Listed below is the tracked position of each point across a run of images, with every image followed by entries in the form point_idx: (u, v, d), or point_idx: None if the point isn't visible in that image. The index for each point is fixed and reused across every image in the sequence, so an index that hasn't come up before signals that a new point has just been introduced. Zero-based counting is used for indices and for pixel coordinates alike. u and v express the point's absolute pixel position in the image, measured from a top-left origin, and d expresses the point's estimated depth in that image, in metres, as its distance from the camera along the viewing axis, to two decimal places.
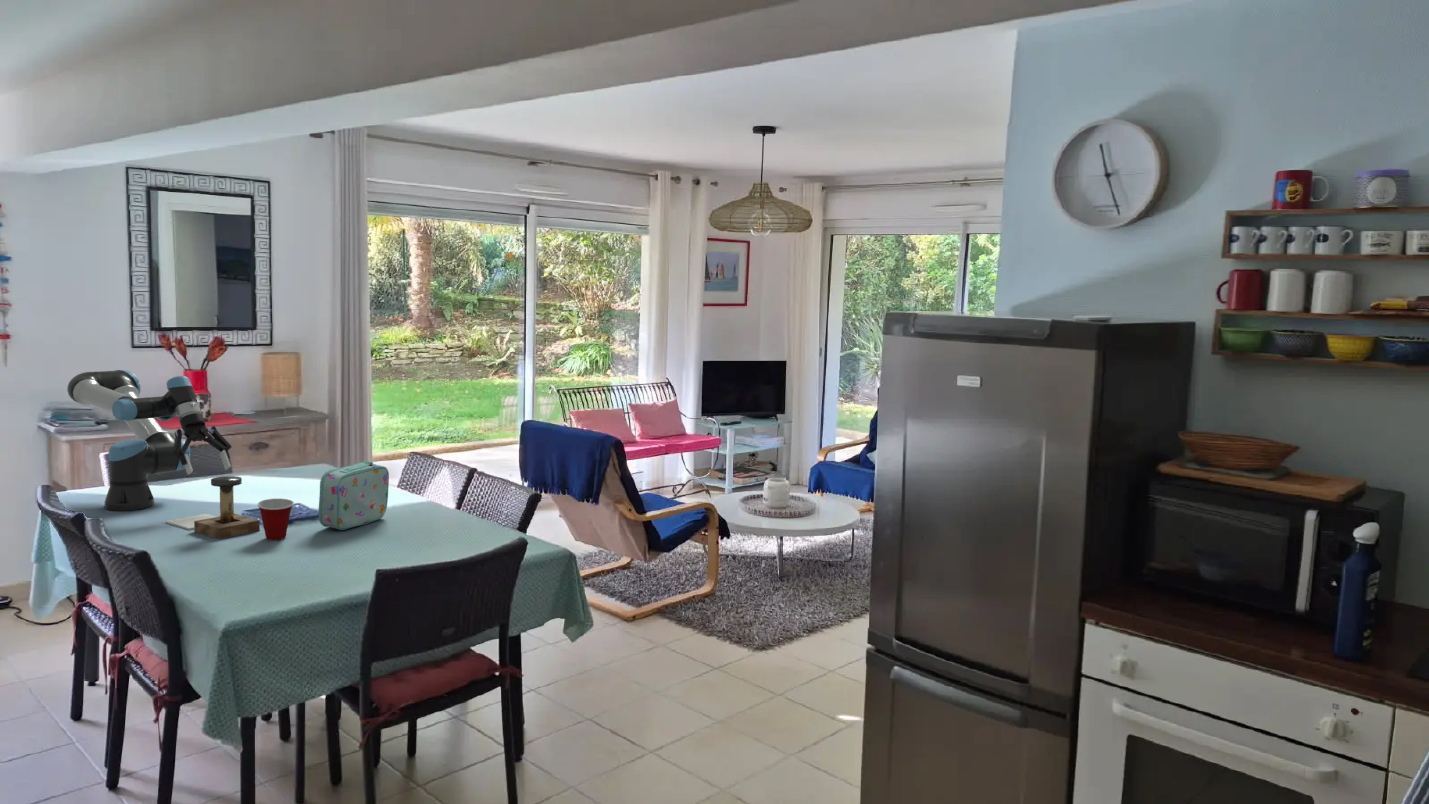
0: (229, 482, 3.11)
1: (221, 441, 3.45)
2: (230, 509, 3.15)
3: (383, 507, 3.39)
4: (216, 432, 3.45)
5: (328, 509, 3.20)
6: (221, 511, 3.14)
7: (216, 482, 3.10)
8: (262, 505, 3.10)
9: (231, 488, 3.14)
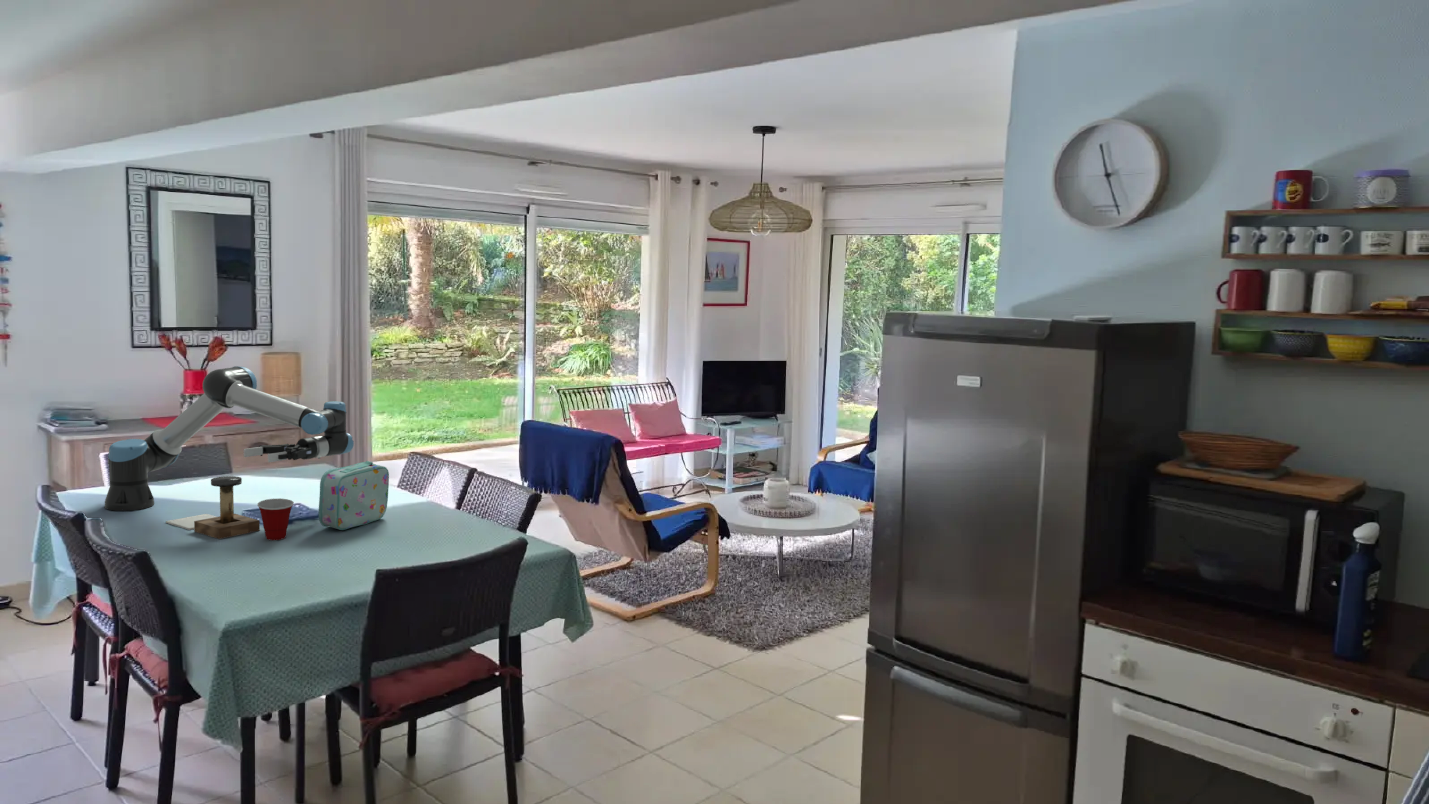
0: (229, 482, 3.11)
1: None
2: (230, 509, 3.15)
3: (383, 507, 3.39)
4: None
5: (328, 509, 3.20)
6: (221, 511, 3.14)
7: (216, 482, 3.10)
8: (262, 505, 3.10)
9: (231, 488, 3.14)
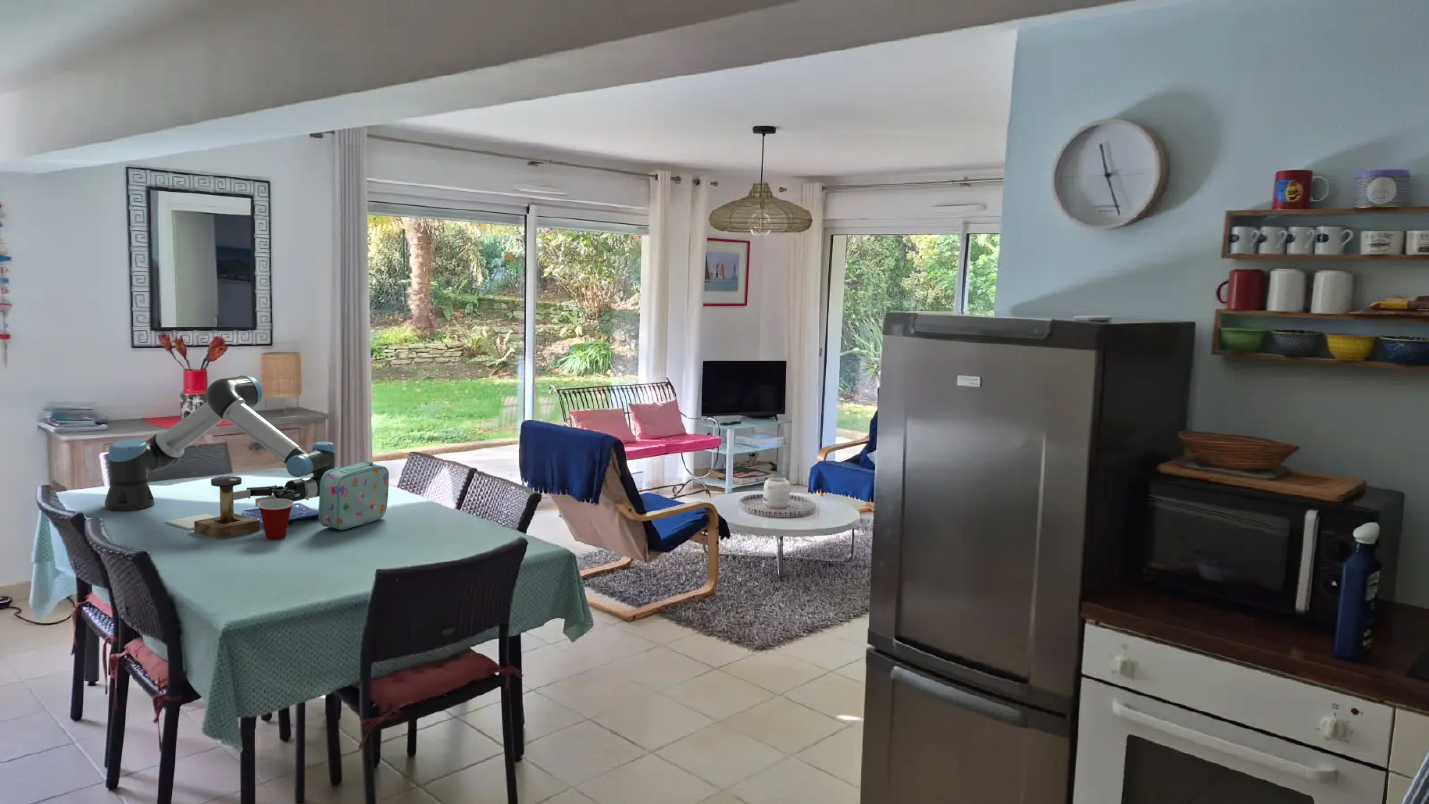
0: (229, 482, 3.11)
1: None
2: (230, 509, 3.15)
3: (383, 507, 3.39)
4: None
5: (328, 509, 3.20)
6: (221, 511, 3.14)
7: (216, 482, 3.10)
8: (262, 505, 3.10)
9: (231, 488, 3.14)
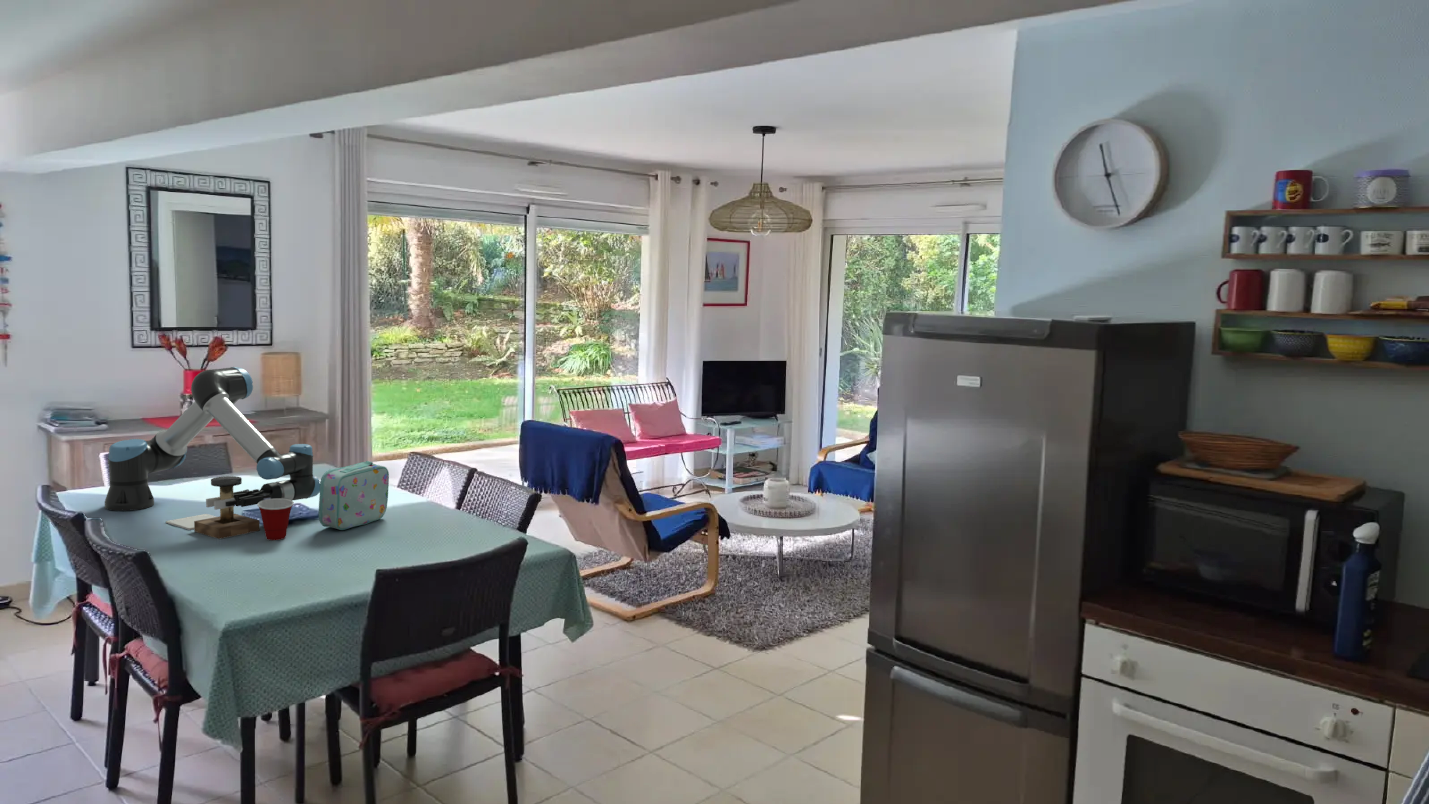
0: (229, 482, 3.11)
1: None
2: (230, 509, 3.15)
3: (383, 507, 3.39)
4: None
5: (328, 509, 3.20)
6: (221, 511, 3.14)
7: (216, 482, 3.10)
8: (262, 505, 3.10)
9: (231, 488, 3.14)
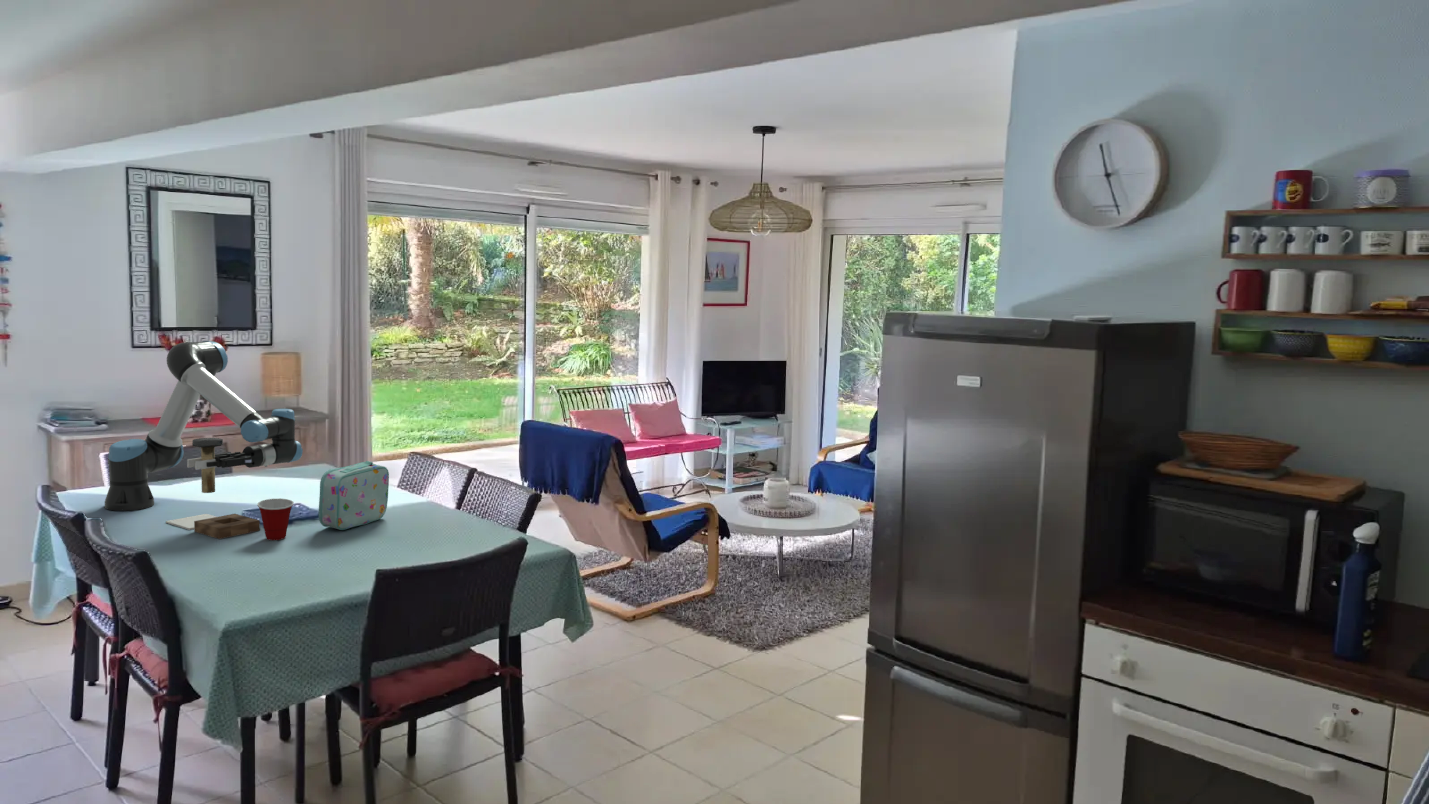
0: (210, 443, 3.16)
1: None
2: (211, 469, 3.19)
3: (383, 507, 3.39)
4: None
5: (328, 509, 3.20)
6: (202, 472, 3.19)
7: (197, 443, 3.15)
8: (262, 505, 3.10)
9: (212, 449, 3.19)
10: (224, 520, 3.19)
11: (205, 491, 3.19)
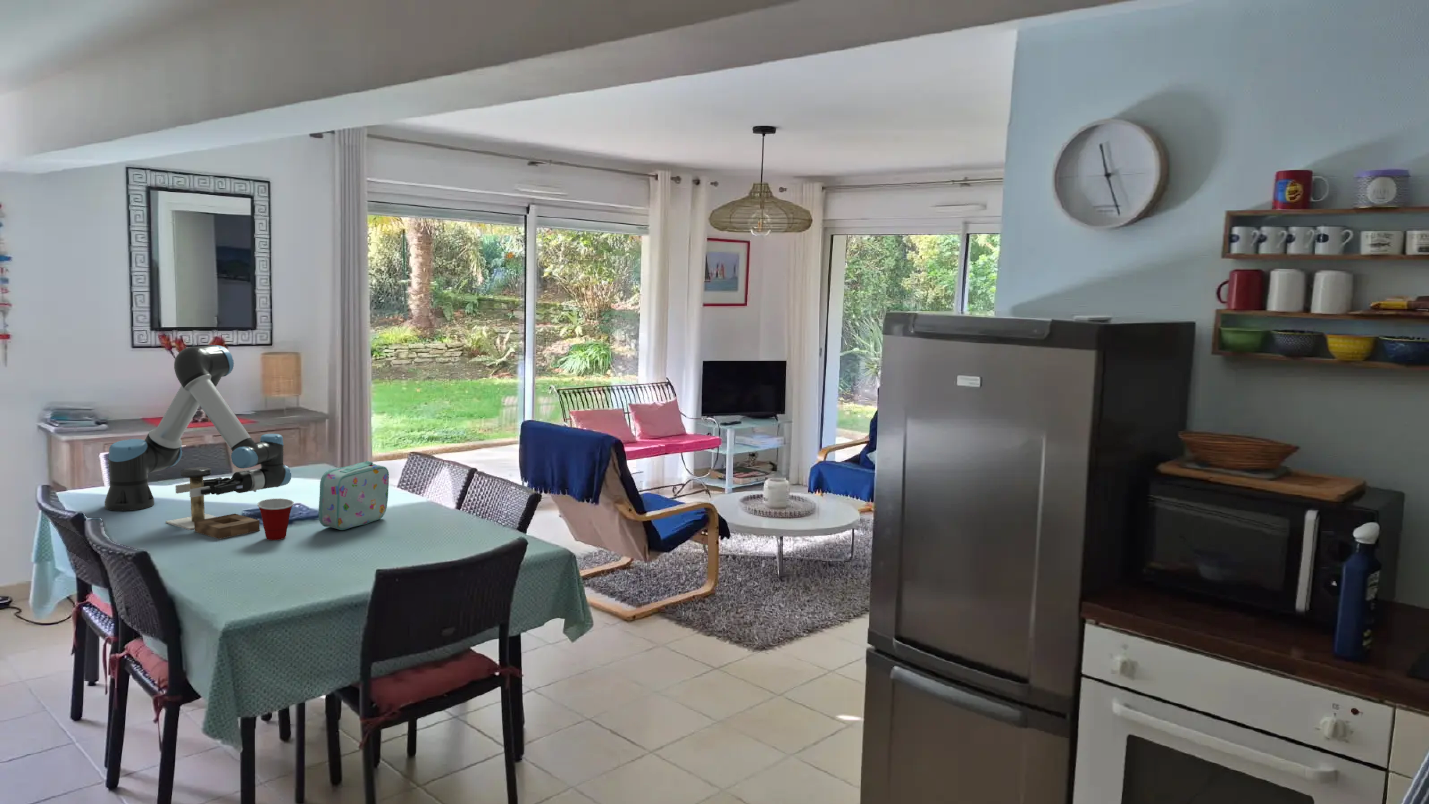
0: (198, 473, 3.20)
1: None
2: (200, 499, 3.23)
3: (383, 507, 3.39)
4: None
5: (328, 509, 3.20)
6: (191, 501, 3.23)
7: (186, 473, 3.19)
8: (262, 505, 3.10)
9: (201, 479, 3.23)
10: (224, 520, 3.19)
11: (195, 520, 3.23)
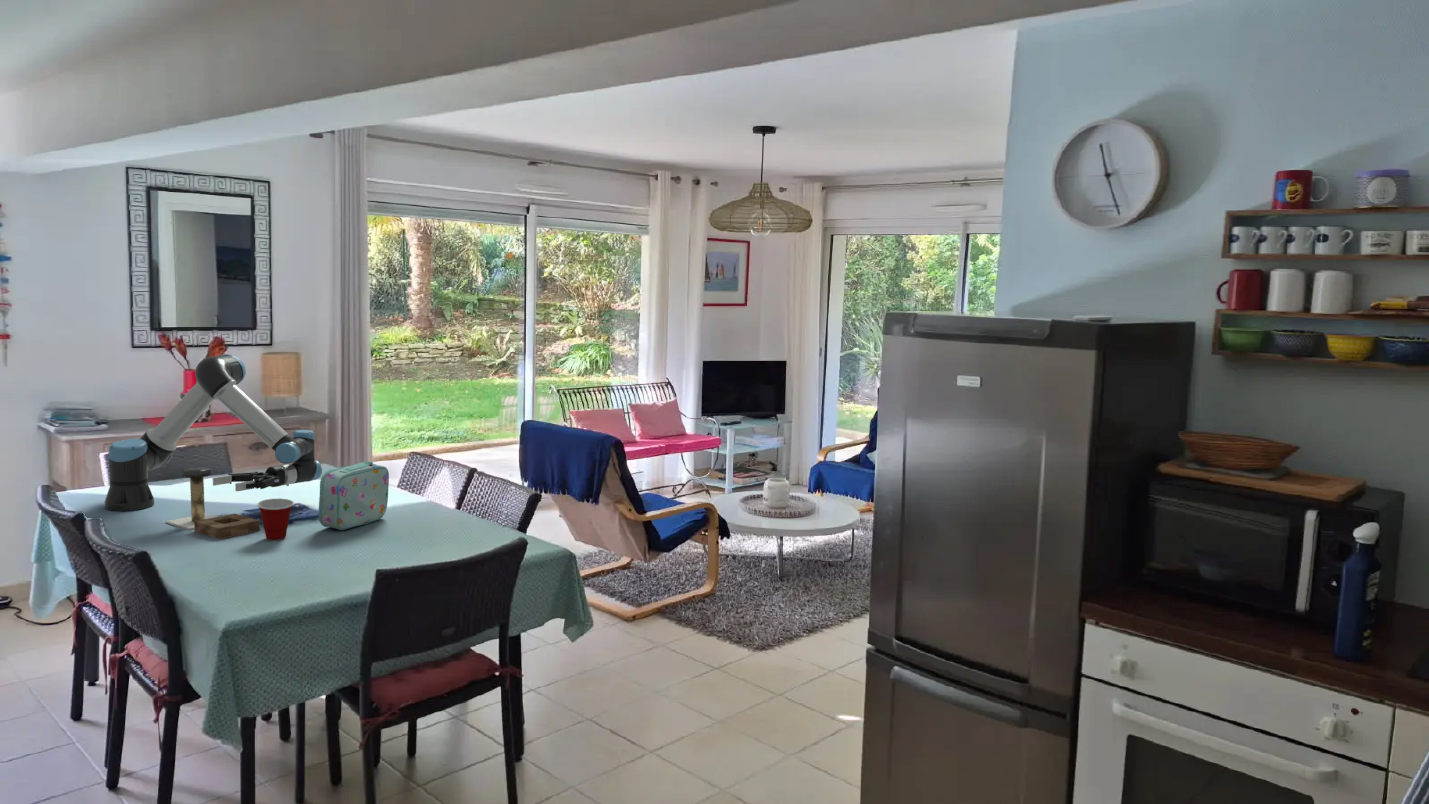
0: (199, 473, 3.20)
1: None
2: (201, 499, 3.23)
3: (383, 507, 3.39)
4: None
5: (328, 509, 3.20)
6: (191, 501, 3.23)
7: (186, 473, 3.19)
8: (262, 505, 3.10)
9: (201, 479, 3.23)
10: (224, 520, 3.19)
11: (195, 520, 3.23)
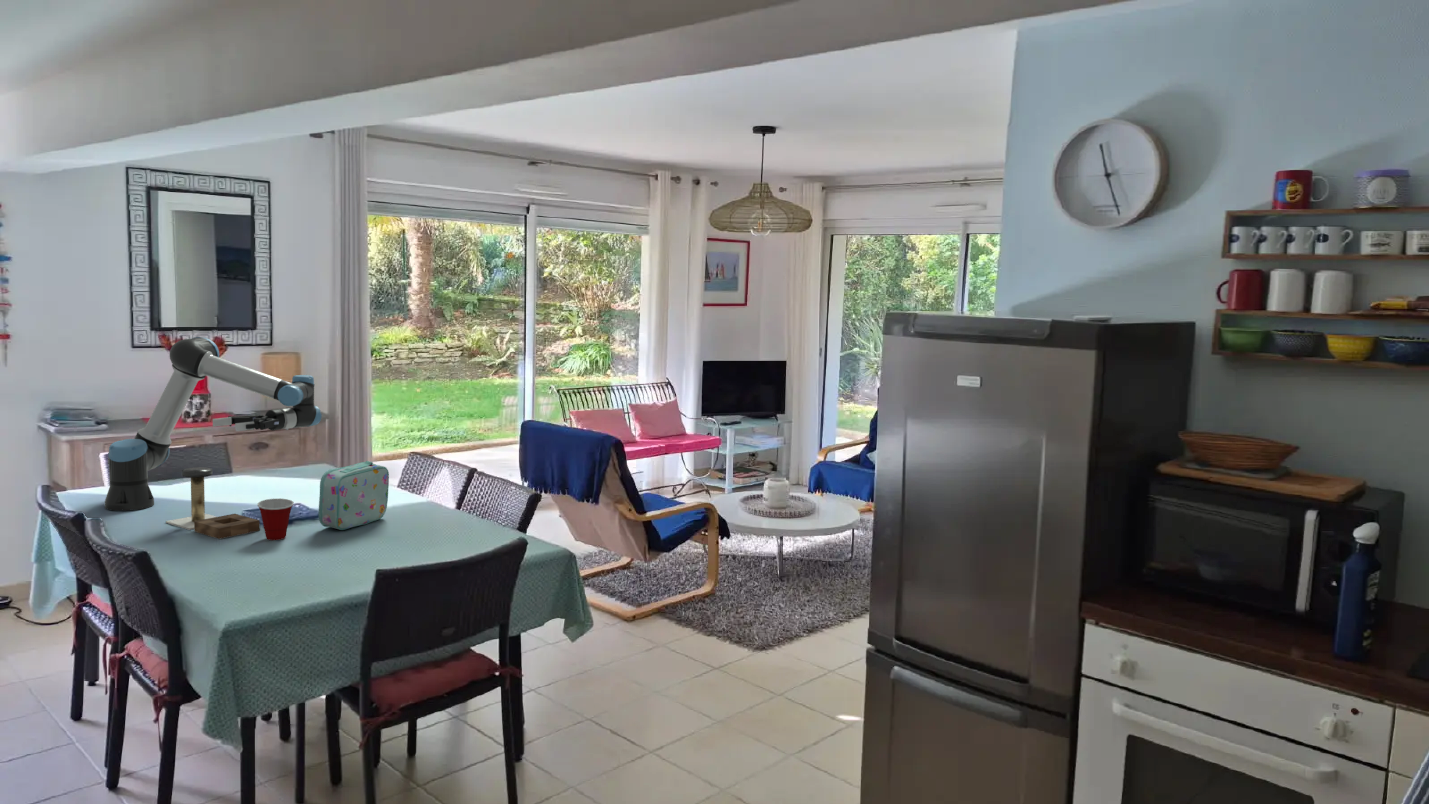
0: (200, 473, 3.20)
1: None
2: (201, 499, 3.23)
3: (383, 507, 3.39)
4: None
5: (328, 509, 3.20)
6: (192, 501, 3.23)
7: (187, 473, 3.19)
8: (262, 505, 3.10)
9: (202, 479, 3.23)
10: (224, 520, 3.19)
11: (195, 520, 3.23)
